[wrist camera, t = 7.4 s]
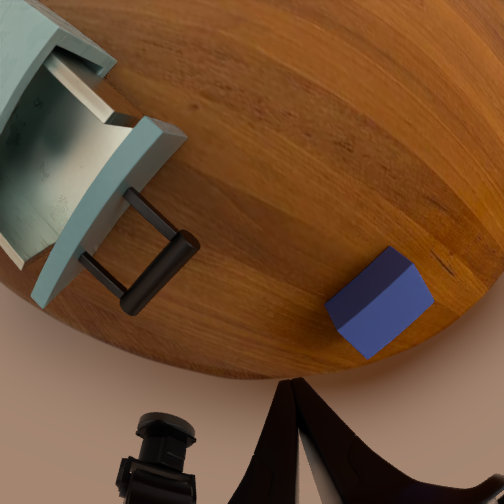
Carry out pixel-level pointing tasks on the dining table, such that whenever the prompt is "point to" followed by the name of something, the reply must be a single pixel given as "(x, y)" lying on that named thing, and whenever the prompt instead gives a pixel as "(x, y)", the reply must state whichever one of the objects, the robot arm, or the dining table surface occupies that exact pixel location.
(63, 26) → the cabinet
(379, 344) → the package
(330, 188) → the dining table surface
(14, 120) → the drawer
